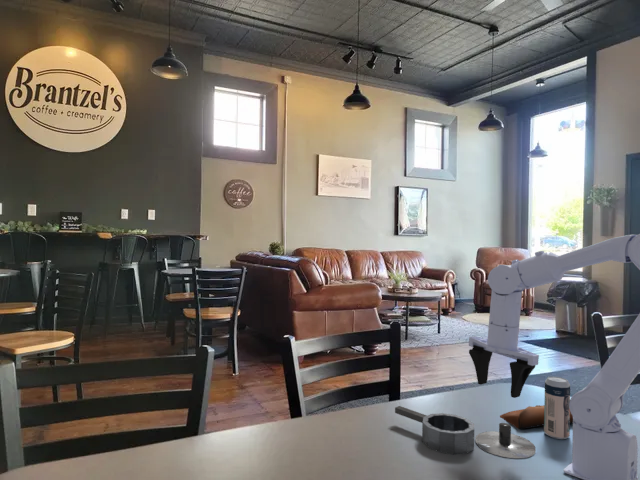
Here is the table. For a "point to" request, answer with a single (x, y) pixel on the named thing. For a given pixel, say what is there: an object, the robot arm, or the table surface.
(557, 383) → the white labeled canister
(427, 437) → the saucepan
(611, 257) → the robot arm
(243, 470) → the table surface
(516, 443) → the lid
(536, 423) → the sunglasses case
